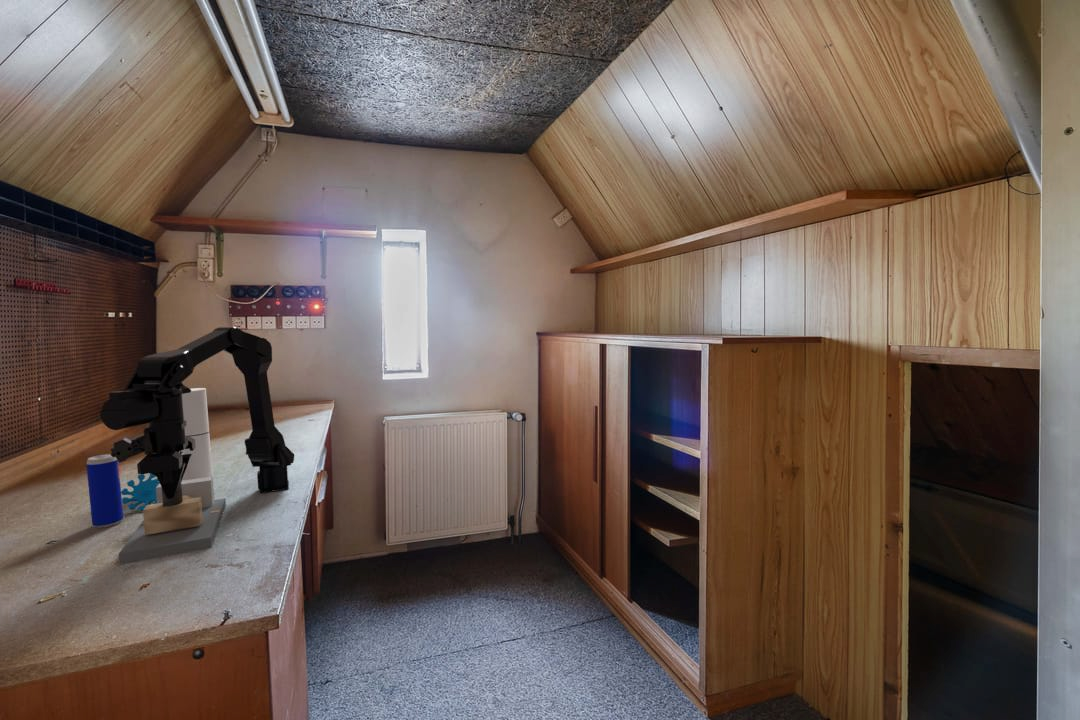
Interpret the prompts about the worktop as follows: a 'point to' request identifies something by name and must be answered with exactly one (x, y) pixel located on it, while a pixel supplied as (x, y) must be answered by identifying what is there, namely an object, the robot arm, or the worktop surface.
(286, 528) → the worktop surface
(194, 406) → the tall white block
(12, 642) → the worktop surface
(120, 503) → the beverage can
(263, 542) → the worktop surface
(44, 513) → the worktop surface
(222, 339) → the robot arm
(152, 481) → the blue virus model
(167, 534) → the cracker base
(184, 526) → the lever handle
